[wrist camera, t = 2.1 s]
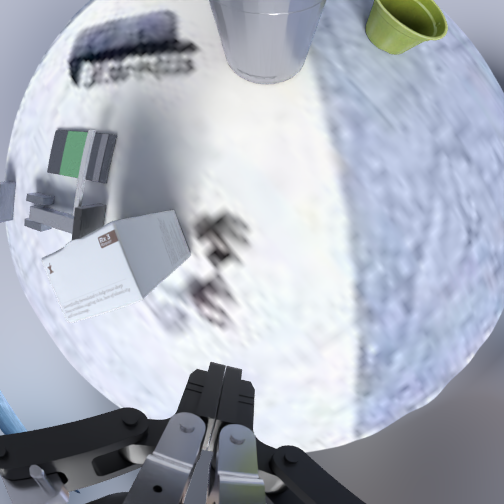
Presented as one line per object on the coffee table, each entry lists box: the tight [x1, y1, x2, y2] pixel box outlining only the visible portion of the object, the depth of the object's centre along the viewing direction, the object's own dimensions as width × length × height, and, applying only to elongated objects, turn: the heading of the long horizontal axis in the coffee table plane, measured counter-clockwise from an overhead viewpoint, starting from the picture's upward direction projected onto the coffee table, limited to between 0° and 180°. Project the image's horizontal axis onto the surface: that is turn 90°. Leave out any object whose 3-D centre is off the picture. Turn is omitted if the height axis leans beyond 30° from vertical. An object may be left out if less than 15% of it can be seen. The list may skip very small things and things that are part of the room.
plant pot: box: [366, 0, 448, 54], centre depth 20 cm, size 9×9×9 cm
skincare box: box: [41, 210, 191, 324], centre depth 24 cm, size 8×6×15 cm
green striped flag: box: [0, 130, 117, 232], centre depth 28 cm, size 14×22×4 cm
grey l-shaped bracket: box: [29, 130, 106, 240], centre depth 26 cm, size 14×12×5 cm
